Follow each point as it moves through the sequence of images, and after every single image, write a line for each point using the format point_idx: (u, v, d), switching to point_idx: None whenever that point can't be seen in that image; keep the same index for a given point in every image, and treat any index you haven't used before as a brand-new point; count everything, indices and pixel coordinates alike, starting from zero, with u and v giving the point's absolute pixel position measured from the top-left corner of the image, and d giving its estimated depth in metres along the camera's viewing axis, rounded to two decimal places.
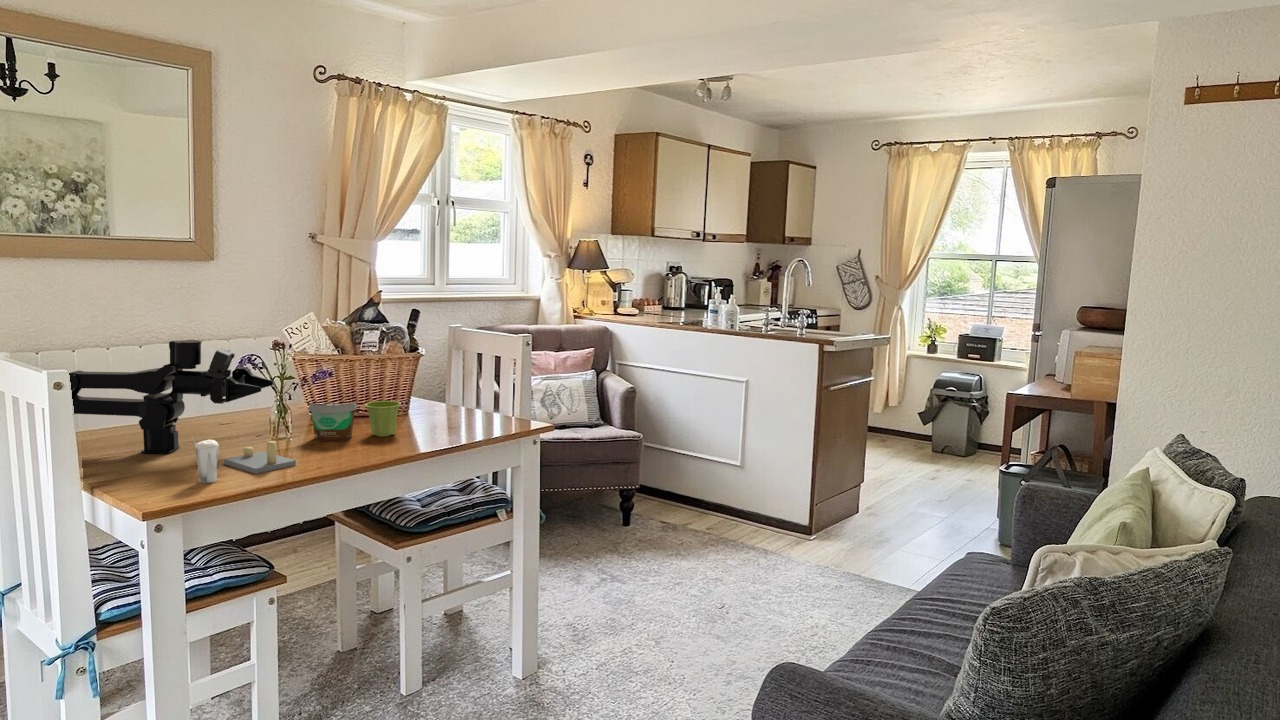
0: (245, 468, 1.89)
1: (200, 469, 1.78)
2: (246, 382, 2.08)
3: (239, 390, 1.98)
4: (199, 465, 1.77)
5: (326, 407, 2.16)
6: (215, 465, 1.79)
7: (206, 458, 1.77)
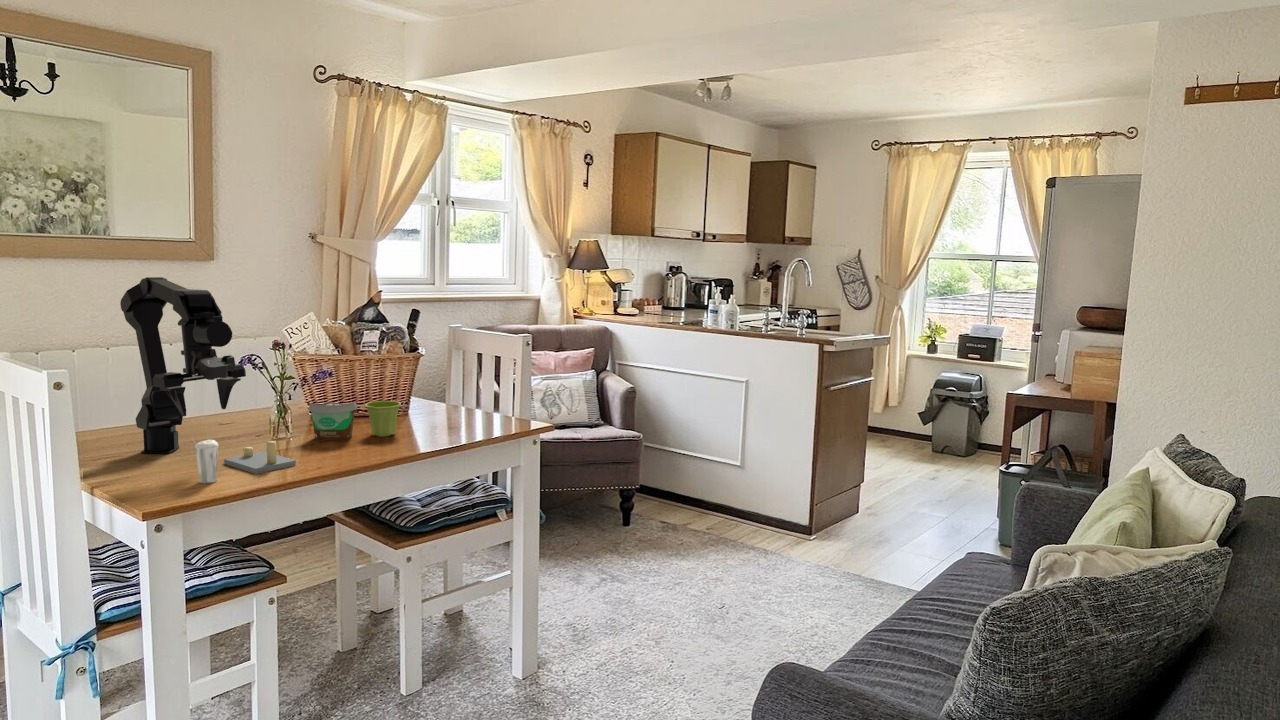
0: (245, 468, 1.89)
1: (200, 469, 1.78)
2: (222, 381, 1.94)
3: (176, 397, 1.85)
4: (199, 465, 1.77)
5: (326, 407, 2.16)
6: (215, 465, 1.79)
7: (206, 458, 1.77)
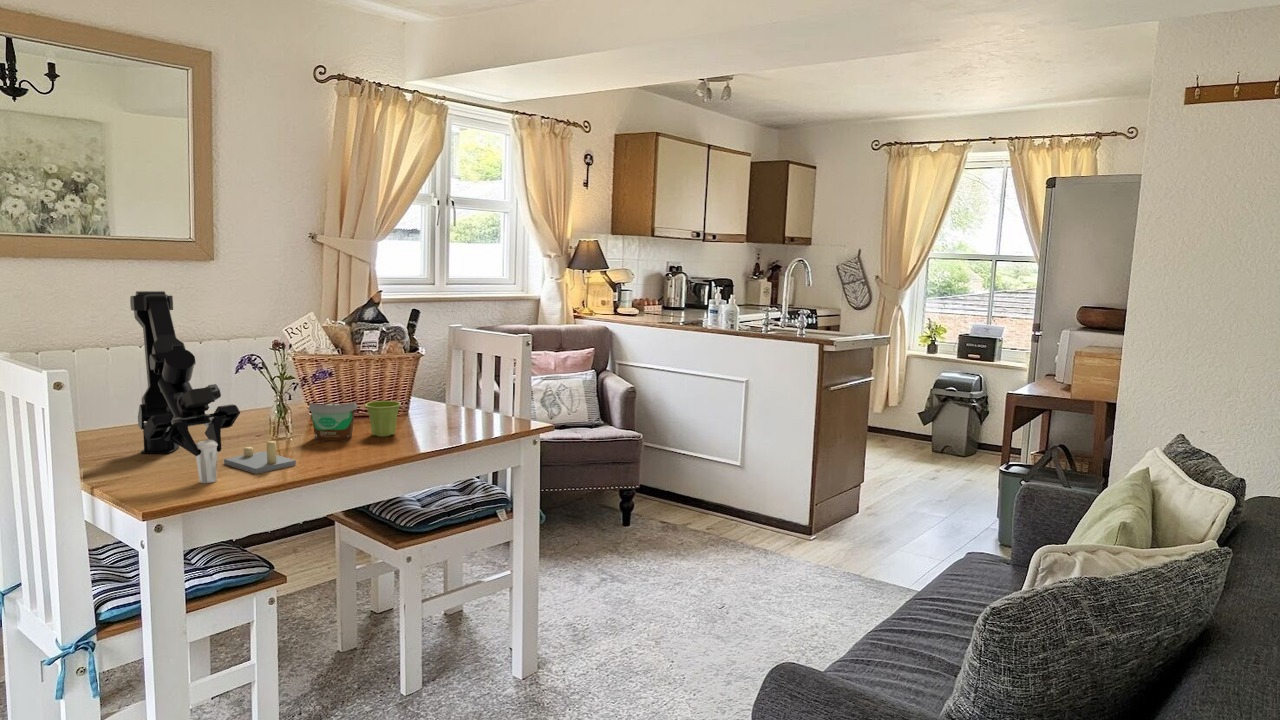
0: (245, 468, 1.89)
1: (200, 469, 1.77)
2: (209, 427, 1.82)
3: (183, 439, 1.76)
4: (199, 465, 1.77)
5: (326, 407, 2.16)
6: (215, 465, 1.79)
7: (205, 458, 1.77)
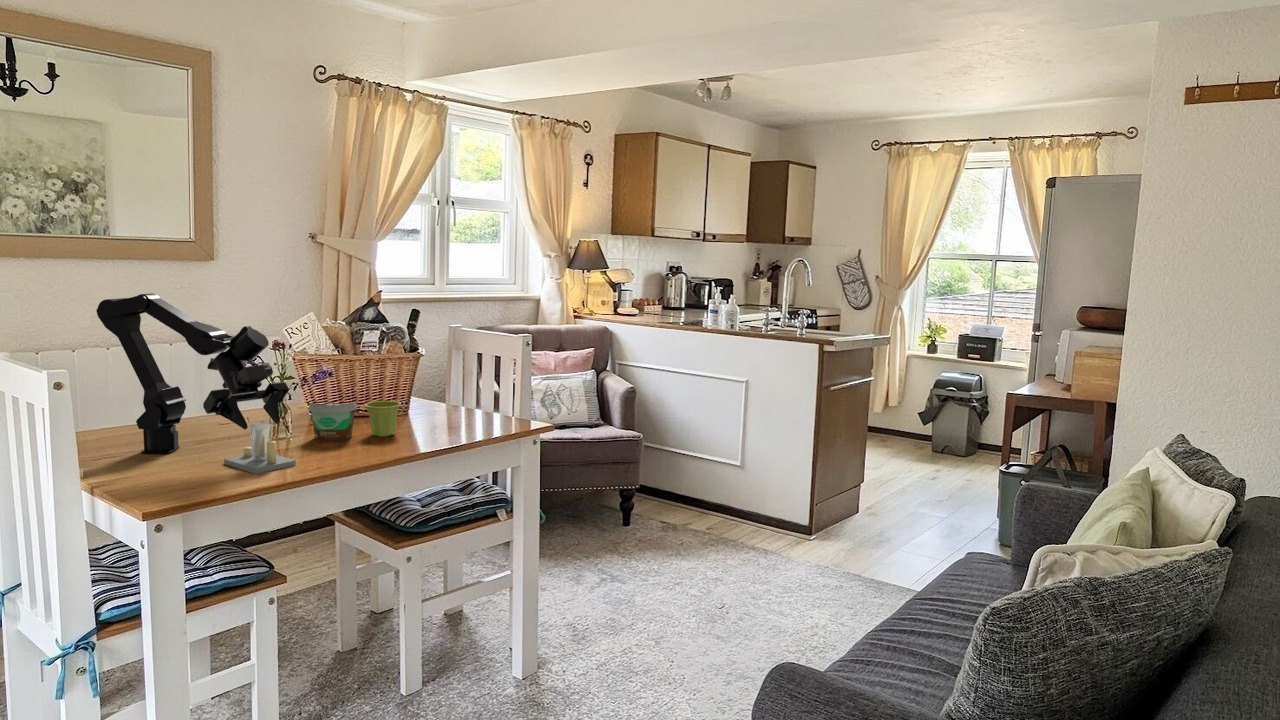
0: (245, 468, 1.89)
1: (253, 448, 1.92)
2: (267, 401, 1.98)
3: (232, 414, 1.89)
4: (253, 444, 1.92)
5: (326, 407, 2.16)
6: None
7: (259, 438, 1.91)
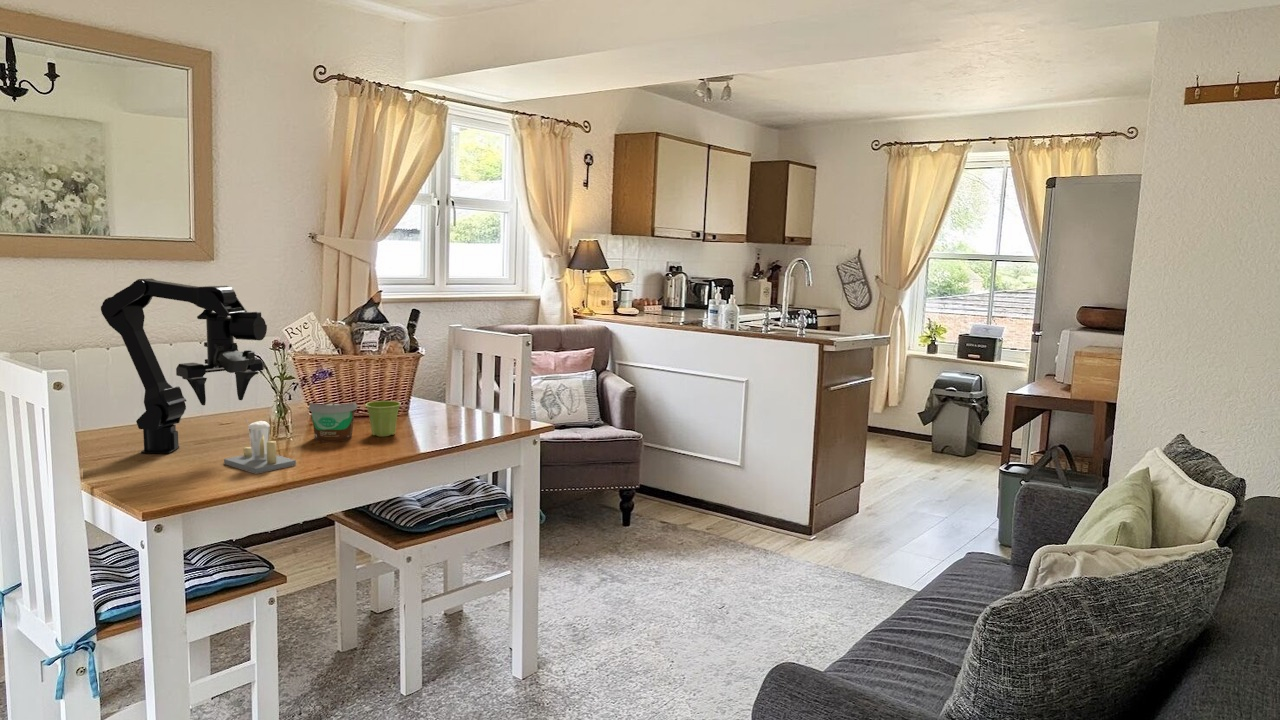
0: (245, 468, 1.89)
1: (253, 448, 1.92)
2: (241, 373, 2.03)
3: (197, 386, 1.95)
4: (252, 444, 1.92)
5: (326, 407, 2.16)
6: (266, 444, 1.93)
7: (259, 438, 1.91)
